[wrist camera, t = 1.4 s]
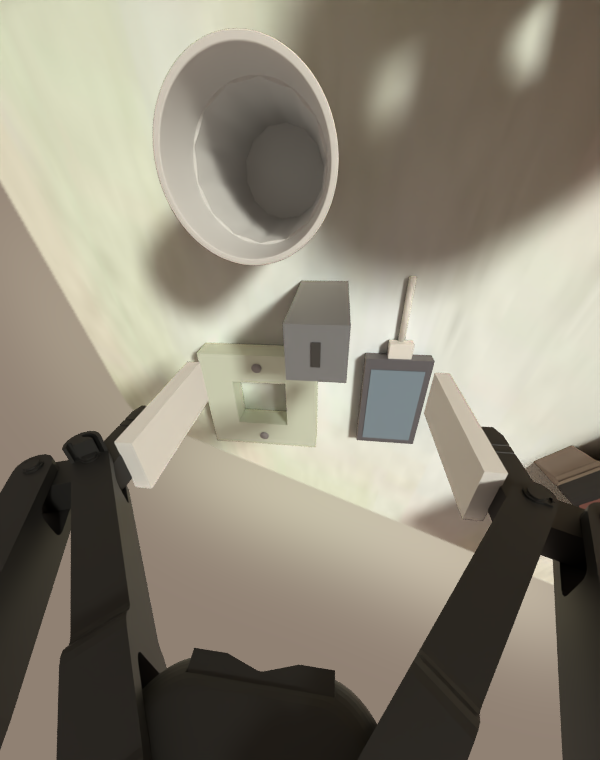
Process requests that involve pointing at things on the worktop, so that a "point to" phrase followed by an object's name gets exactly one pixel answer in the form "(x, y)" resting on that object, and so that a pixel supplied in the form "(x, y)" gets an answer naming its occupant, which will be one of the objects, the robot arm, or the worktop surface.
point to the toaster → (573, 475)
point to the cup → (245, 146)
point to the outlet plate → (256, 365)
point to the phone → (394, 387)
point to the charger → (318, 332)
